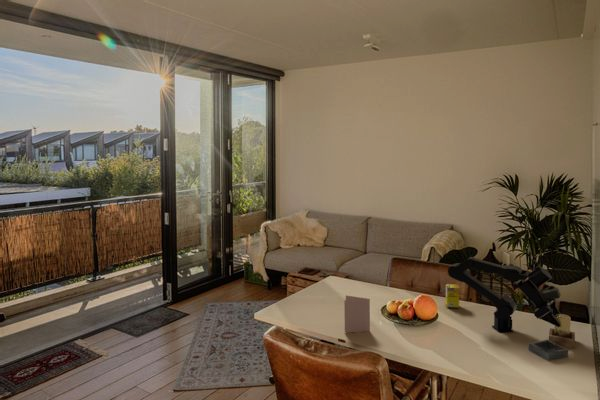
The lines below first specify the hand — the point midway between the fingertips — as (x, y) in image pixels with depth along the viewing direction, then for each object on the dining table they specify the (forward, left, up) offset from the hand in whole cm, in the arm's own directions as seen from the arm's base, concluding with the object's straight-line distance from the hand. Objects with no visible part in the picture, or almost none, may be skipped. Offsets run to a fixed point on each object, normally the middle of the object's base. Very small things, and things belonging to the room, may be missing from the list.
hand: (561, 322), depth 180 cm
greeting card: (-82, +21, -8) cm, 85 cm away
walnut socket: (0, 0, -8) cm, 8 cm away
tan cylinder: (0, 0, -8) cm, 8 cm away
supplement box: (-27, +45, -8) cm, 53 cm away
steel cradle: (-12, -9, -8) cm, 17 cm away
